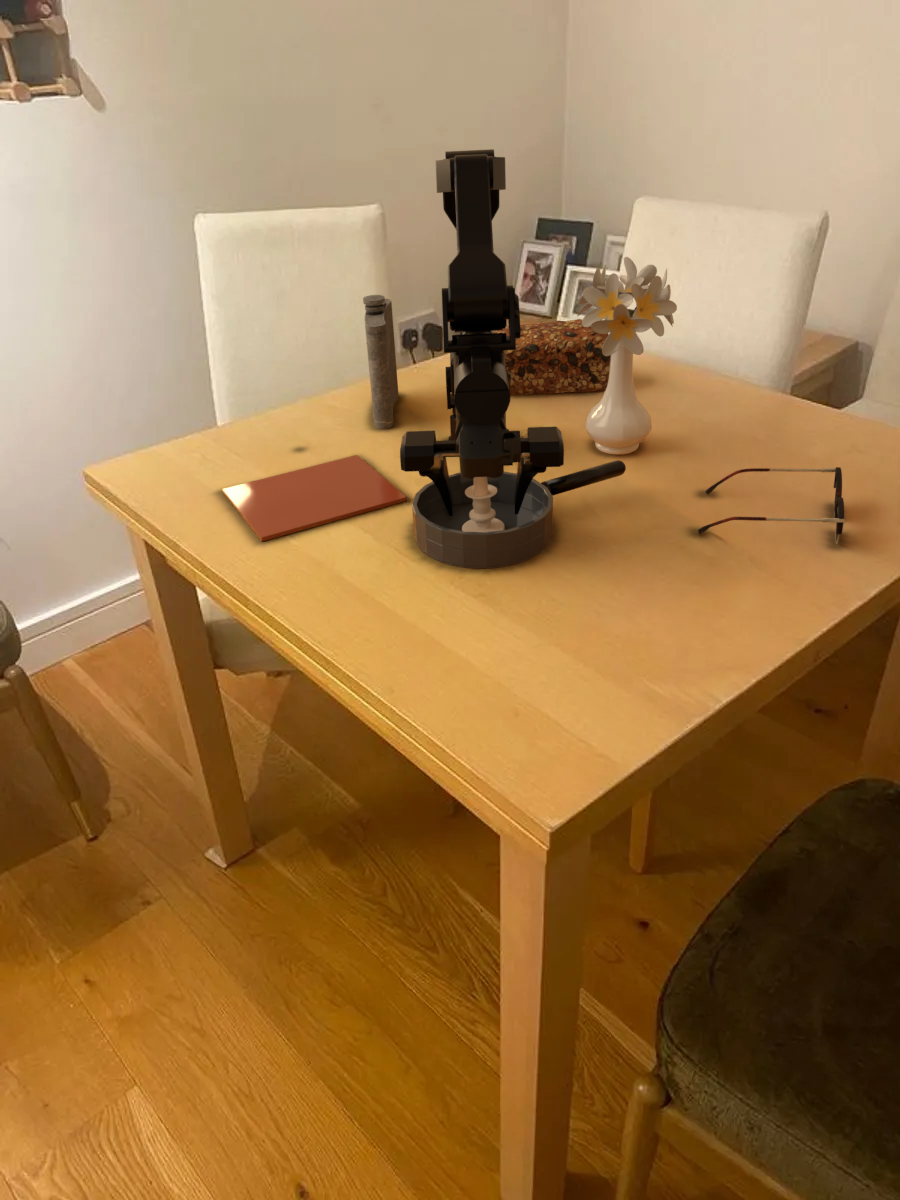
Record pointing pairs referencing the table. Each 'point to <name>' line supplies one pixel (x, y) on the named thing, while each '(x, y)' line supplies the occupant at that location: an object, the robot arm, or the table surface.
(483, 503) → the candle
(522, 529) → the pan
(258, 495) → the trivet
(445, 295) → the robot arm
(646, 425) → the flower vase
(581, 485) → the pan handle
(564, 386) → the bread
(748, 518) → the sunglasses
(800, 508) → the table surface
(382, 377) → the flask
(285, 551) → the table surface
